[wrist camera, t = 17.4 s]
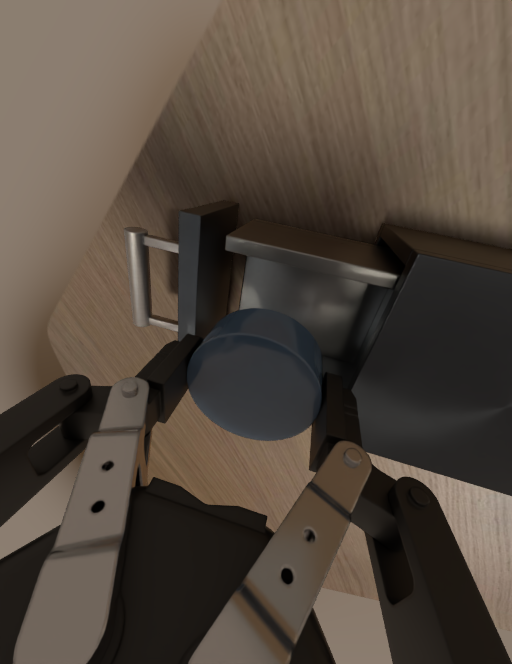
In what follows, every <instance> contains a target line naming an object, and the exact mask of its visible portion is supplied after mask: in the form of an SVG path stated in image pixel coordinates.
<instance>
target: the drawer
mask: <svg viewBox="0 0 512 664" xmlns="http://www.w3.org/2000/svg"><path fill="white" fill-rule="evenodd" d="M238 209H239V203H234V202H229V201H225V200H223V201H219V202H214V203H210V204H206V205H202V206H198V207H193V208H189V209H185V210H181V211H179V242H178V241H174V240H170V239H165V238H161V237H157V236H153V235H148V231H147V230H146V229H144V228H140V227H127V228H124V235H125V246H126V256H127V266H128V276H129V286H130V296H131V306H132V316H133V323H134V325H136V326H138V327H146V326H149V325H155V326H158V327H162V328H165V329H169V330H173V331H176V332H178V341H179V342H180V341H181V340H182V339H183V338H184V337H185V335H186V334H188V333H189V334H192V335H196V336H200V337H203V340H204V338H205V337H206V336H207V334H208V333H209V332H210V330H211V329H212V328H213V327H214V325H215V324H216V323H217V322H218V321H219V320H221V319H222V318H223V317H225V316H226V311H227V303H228V294H229V285H230V277H231V268H232V260H233V252H234V253H238V254H243V255H247V257H246V264H245V271H244V278H243V284H242V291H241V298H240V305H239V310H242V309H249V308H263V309H270V310H274V311H277V312H280V313H283V314H285V315H287V316H289V317H291V318H293V319H295V320H296V321H298V322H299V323H300V324H302V325H303V326H304V327H305V328H306V329H307V330H308V331H309V332H310V333H311V334H312V336H313V337H314V339H315V340H316V342H317V343H318V346H319V348H320V350H321V354H322V358H323V376H324V374H325V372H329V373H333V374H336V375H340V376H342V380H343V388H346V389H347V387H348V385H349V383H350V381H351V379H352V377H353V375H354V373H355V371H356V369H357V366H358V364H359V362H360V360H361V358H362V356H363V354H364V352H365V350H366V348H367V346H368V343H369V341H370V339H371V337H372V335H373V333H374V331H375V329H376V327H377V325H378V322H379V320H380V318H381V316H382V314H383V312H384V310H385V308H386V306H387V304H388V302H389V299H390V297H391V295H392V293H393V291H394V289H395V287H396V285H397V283H398V281H399V279H400V276H401V274H402V272H403V270H404V268H405V265H404V263H403V262H402V261H401V260H400V259H399V258H398V256H397V255H396V254H395V253H394V252H393V251H392V249H391V248H387V247H382V246H378V245H373V244H369V243H364V242H359V241H355V240H350V239H346V238H341V237H336V236H332V235H327V234H323V233H318V232H314V231H309V230H304V229H300V228H295V227H291V226H286V225H282V224H277V223H272V222H268V221H263V220H259V219H253V220H252V221H250V222H248V223H247V224H245V225H243V226H242V227H240V228H238V229H237V230H236V226H237V217H238ZM149 246H150V247H154V248H158V249H162V250H166V251H170V252H174V253H178V321H175V320H172V319H168V318H164V317H160V316H157V315H152V301H151V282H150V263H149Z"/></svg>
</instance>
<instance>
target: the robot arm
mask: <svg viewBox="0 0 512 664" xmlns="http://www.w3.org/2000/svg"><path fill="white" fill-rule="evenodd" d="M202 341H203V337H200V336H196V335H192V334H189V333H188V334H186V335H185V337H184V338H183V339H182V340H181V341H180V342H179V341H176V340H175V341H172V342H170V343H168V344H166V345H165V346H164V347H163V348H162V349H161V350H160V351H159V353H157V354H156V355H155V356H154V358H153V359H152V360H151V361H150V362H149V363H148V364H147V365H146V366H145V367H144V368H143V369H142V370H141V371H140V372H139V373H138V374H137V375H136V376H135V377H130V378H125V379H122V380H120V381H118V382H117V383H115V384H114V385H113V386H91V383H90V380H89V379H88V378H87V377H86V376H83V375H78V374H74V375H67V376H64V377H61V378H59V379H57V380H55V381H53V382H52V383H50V384H49V385H47V386H45V387H44V388H42V389H40V390H39V391H37V392H36V393H34V394H33V395H31V396H29V397H28V398H26V399H24V400H23V401H21V402H20V403H18V404H16V405H15V406H13V407H11V408H10V409H8V410H7V411H5V412H3V413H2V414H0V527H1V526H2V525H3V524H4V523H5V522H6V521H7V520H8V519H10V517H12V516H13V515H14V514H15V513H16V512H17V511H18V510H19V509H20V508H21V507H23V506H24V505H25V504H26V503H27V502H28V501H29V500H30V499H31V498H32V497H33V496H34V495H36V494H37V493H38V492H39V491H40V490H41V489H42V488H43V487H44V486H45V485H46V484H48V483H49V482H50V481H51V480H52V479H53V478H54V477H55V476H56V475H57V474H58V473H59V472H61V471H62V470H63V469H64V468H65V467H66V466H67V465H68V464H69V463H70V462H71V461H72V460H73V459H75V458H76V457H77V456H78V455H79V454H80V453H81V452H82V451H83V450H84V449H85V448H86V450H85V453H84V456H83V459H82V462H81V465H80V468H79V471H78V474H77V477H76V480H75V483H74V487H73V490H72V493H71V496H70V499H69V502H68V505H67V508H66V512H65V514H64V517H63V520H62V523H61V525H59V526H57V527H56V528H54V529H52V530H51V531H49V532H47V533H45V534H44V535H42V536H40V537H38V538H37V539H35V540H33V541H31V542H30V543H28V544H26V545H25V546H23V547H21V548H19V549H18V550H16V551H14V552H12V553H11V554H9V555H8V556H6V557H4V558H2V559H1V560H0V664H336V663H335V660H334V658H333V655H332V653H331V650H330V648H329V646H328V643H327V641H326V638H325V636H324V633H323V631H322V628H321V626H320V624H319V621H318V619H317V617H316V614H315V611H314V609H313V605H314V603H315V601H316V598H317V596H318V594H319V592H320V589H321V587H322V585H323V583H324V580H325V578H326V576H327V574H328V572H329V569H330V567H331V565H332V563H333V560H334V558H335V556H336V554H337V551H338V549H339V547H340V545H341V543H342V540H343V538H344V536H345V534H346V531H347V529H348V527H349V525H350V522H352V523H354V524H355V525H356V526H358V527H359V528H361V529H362V530H363V531H364V532H365V536H366V541H367V545H368V550H369V555H370V559H371V564H372V569H373V573H374V578H375V583H376V587H377V592H378V597H379V601H380V606H381V610H382V615H383V620H384V624H385V629H386V633H387V638H388V643H389V648H390V652H391V657H392V661H393V664H512V662H511V660H510V658H509V656H508V654H507V652H506V649H505V647H504V645H503V643H502V640H501V638H500V636H499V634H498V632H497V629H496V627H495V625H494V623H493V621H492V618H491V616H490V614H489V612H488V610H487V607H486V605H485V603H484V601H483V599H482V596H481V594H480V592H479V590H478V588H477V585H476V583H475V581H474V579H473V577H472V574H471V572H470V570H469V568H468V566H467V563H466V561H465V559H464V557H463V555H462V553H461V550H460V548H459V546H458V544H457V542H456V539H455V537H454V535H453V533H452V531H451V528H450V526H449V524H448V522H447V520H446V517H445V515H444V513H443V511H442V509H441V506H440V504H439V502H438V500H437V498H436V497H435V495H434V494H433V493H432V491H431V490H430V489H429V488H428V487H427V486H426V485H424V484H423V483H422V482H420V481H418V480H416V479H414V478H411V477H401V478H399V479H398V480H397V481H396V480H395V479H393V478H391V477H390V476H388V475H386V474H385V473H383V472H382V471H380V470H379V469H377V468H376V467H375V466H374V465H373V464H372V462H371V459H370V457H369V455H368V454H367V453H366V451H365V450H364V449H363V447H362V440H361V432H360V424H359V418H358V410H357V409H358V408H357V400H356V398H355V396H354V394H353V393H352V391H351V390H349V389H346V388H343V380H342V376H340V375H336V374H333V373H329V372H325V374H324V376H323V386H322V405H321V409H320V411H319V414H318V416H317V418H316V419H315V421H314V422H313V423H312V432H311V447H310V462H309V470H310V471H313V472H316V474H315V476H314V477H313V479H312V480H311V482H309V483H308V484H307V486H306V487H305V489H304V490H303V492H302V493H301V495H300V496H299V498H298V499H297V501H296V502H295V504H294V505H293V507H292V508H291V510H290V511H289V513H288V514H287V516H286V517H285V519H284V520H283V522H282V523H281V525H280V526H279V528H278V529H277V531H276V532H275V533H274V532H273V531H272V530H271V529H269V528H268V527H267V526H266V521H267V516H265V515H263V514H260V513H257V512H254V511H251V510H248V509H245V508H242V507H239V506H224V505H207V504H205V503H203V502H202V501H200V500H199V499H197V498H196V497H195V496H193V495H192V494H191V493H189V492H188V491H186V490H185V489H184V488H182V487H181V486H178V485H175V484H172V483H170V482H167V481H164V480H161V479H158V478H155V477H153V479H152V481H151V482H150V484H149V486H148V466H149V457H150V448H151V439H152V428H153V426H154V425H155V423H156V422H157V421H158V422H161V423H166V422H167V420H168V419H169V417H170V416H171V414H172V413H173V411H174V409H175V408H176V406H177V405H178V403H179V402H180V400H181V399H182V397H183V396H184V394H185V393H186V391H187V390H188V385H187V378H186V376H187V367H188V363H189V360H190V358H191V356H192V354H193V353H194V351H195V350H196V349H197V347H198V346H199V345H200V344H201V342H202ZM57 425H59V426H58V427H57V428H55V429H54V430H53V431H51V432H50V433H49V434H48V435H46V436H45V437H44V438H42V439H41V440H40V441H39V442H37V443H36V444H35V445H33V444H34V443H35V442H36V441H37V440H38V439H40V438H41V437H42V436H43V435H45V434H46V433H48V432H49V431H50V430H52V429H53V428H54V427H55V426H57ZM32 445H33V446H32ZM31 446H32V447H31ZM30 447H31V448H30Z"/></svg>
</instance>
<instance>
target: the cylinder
mask: <svg viewBox="0 0 512 664" xmlns="http://www.w3.org/2000/svg"><path fill="white" fill-rule="evenodd" d="M186 378H187V385H188V389H189V392H190V394H191V397H192V398H193V400H194V402H195V404H196V405H197V406H198V408H199V409H200V410H201V411H202V412H203V413H204V415H206V416H207V417H208V418H209V419H210V420H211V421H213V422H214V423H215V424H217V425H218V426H220V427H221V428H223V429H225V430H227V431H229V432H231V433H233V434H236V435H238V436H241V437H245V438H249V439H254V440H261V441H276V440H283V439H287V438H291V437H293V436H296V435H298V434H300V433H302V432H303V431H305V430H306V429H307V428H309V426H310V425H311V424H312V423H313V422H314V421H315V419H316V418H317V416H318V414H319V411H320V409H321V405H322V386H323V358H322V354H321V350H320V348H319V346H318V343H317V342H316V340H315V339H314V337H313V336H312V334H311V333H310V332H309V331H308V330H307V329H306V328H305V327H304V326H303V325H302V324H300V323H299V322H298V321H296V320H295V319H293V318H291V317H289V316H287V315H285V314H283V313H280V312H277V311H274V310H270V309H263V308H249V309H242V310H238V311H235V312H233V313H230V314H228V315H226V316H225V317H223V318H222V319H221V320H219V321H218V322H217V323H216V324H215V325H214V327H213V328H212V329H211V330H210V332H209V333H208V334H207V336H206V337H205V338H204V340H203V341H202V342H201V344H200V345H199V346H198V347H197V349H196V350H195V351H194V353H193V354H192V356H191V358H190V360H189V363H188V367H187V376H186Z"/></svg>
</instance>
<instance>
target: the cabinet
mask: <svg viewBox="0 0 512 664" xmlns="http://www.w3.org/2000/svg"><path fill="white" fill-rule="evenodd" d="M374 245H378V246H382V247H387V248H391V249H392V251H393V252H394V253H395V254H396V255H397V256H398V258H399V259H400V260H401V261H402V262H403V263H404V265H405V268H404V270H403V272H402V274H401V276H400V279H399V281H398V283H397V285H396V287H395V289H394V291H393V293H392V295H391V297H390V299H389V302H388V304H387V306H386V308H385V310H384V312H383V314H382V316H381V318H380V320H379V322H378V325H377V327H376V329H375V331H374V333H373V335H372V337H371V339H370V341H369V343H368V346H367V348H366V350H365V352H364V354H363V356H362V358H361V360H360V362H359V364H358V366H357V369H356V371H355V373H354V375H353V377H352V379H351V381H350V383H349V385H348V387H347V389H349V390H351V391H352V393H353V394H354V396H355V398H356V400H357V408H358V409H357V410H358V418H359V424H360V432H361V440H362V447H363V449H364V450H365V451H366V452H368V453H371V454H375V455H378V456H381V457H385V458H388V459H391V460H394V461H398V462H401V463H404V464H408V465H411V466H414V467H418V468H421V469H424V470H427V471H431V472H434V473H437V474H441V475H444V476H447V477H450V478H454V479H457V480H460V481H464V482H467V483H470V484H473V485H477V486H480V487H483V488H487V489H490V490H493V491H497V492H500V493H503V494H506V495H510V496H512V249H507V248H503V247H498V246H493V245H488V244H483V243H479V242H474V241H469V240H464V239H459V238H455V237H450V236H445V235H440V234H435V233H431V232H426V231H421V230H416V229H411V228H407V227H402V226H397V225H392V224H387V223H382V226H381V228H380V231H379V233H378V236H377V238H376V241H375V243H374Z"/></svg>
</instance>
